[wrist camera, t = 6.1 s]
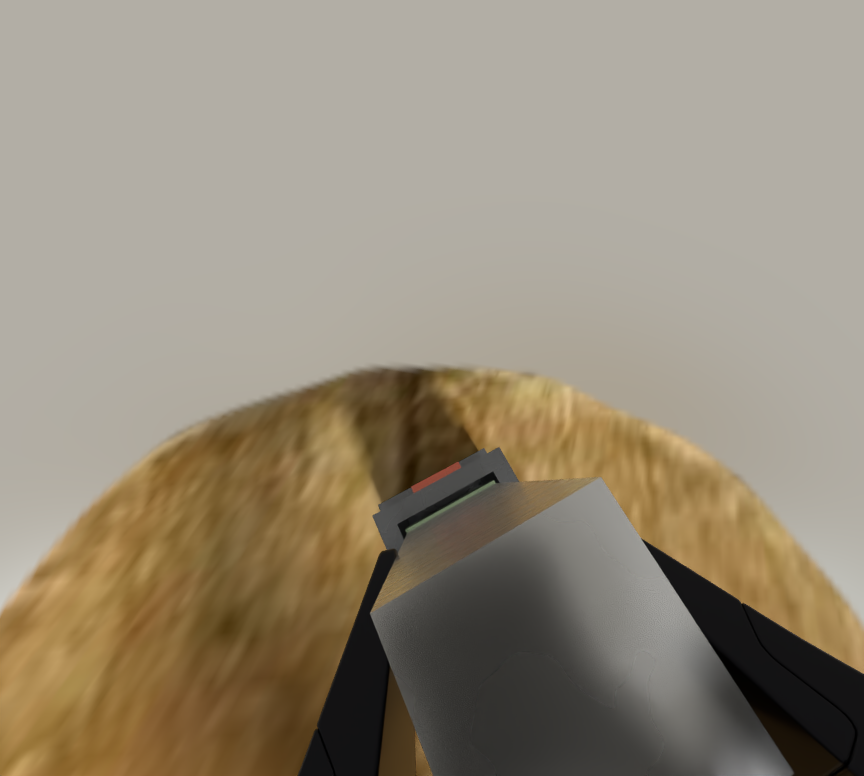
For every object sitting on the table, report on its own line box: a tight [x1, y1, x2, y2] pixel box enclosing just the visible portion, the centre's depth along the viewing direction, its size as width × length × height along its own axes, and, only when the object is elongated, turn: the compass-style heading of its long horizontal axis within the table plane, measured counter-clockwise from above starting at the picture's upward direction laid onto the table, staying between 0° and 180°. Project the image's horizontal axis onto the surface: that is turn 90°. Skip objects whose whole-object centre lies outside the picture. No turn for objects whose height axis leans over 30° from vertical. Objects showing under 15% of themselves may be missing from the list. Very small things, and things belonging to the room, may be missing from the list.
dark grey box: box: [373, 447, 519, 553], centre depth 16 cm, size 7×7×7 cm
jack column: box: [370, 477, 794, 776], centre depth 9 cm, size 4×4×11 cm
